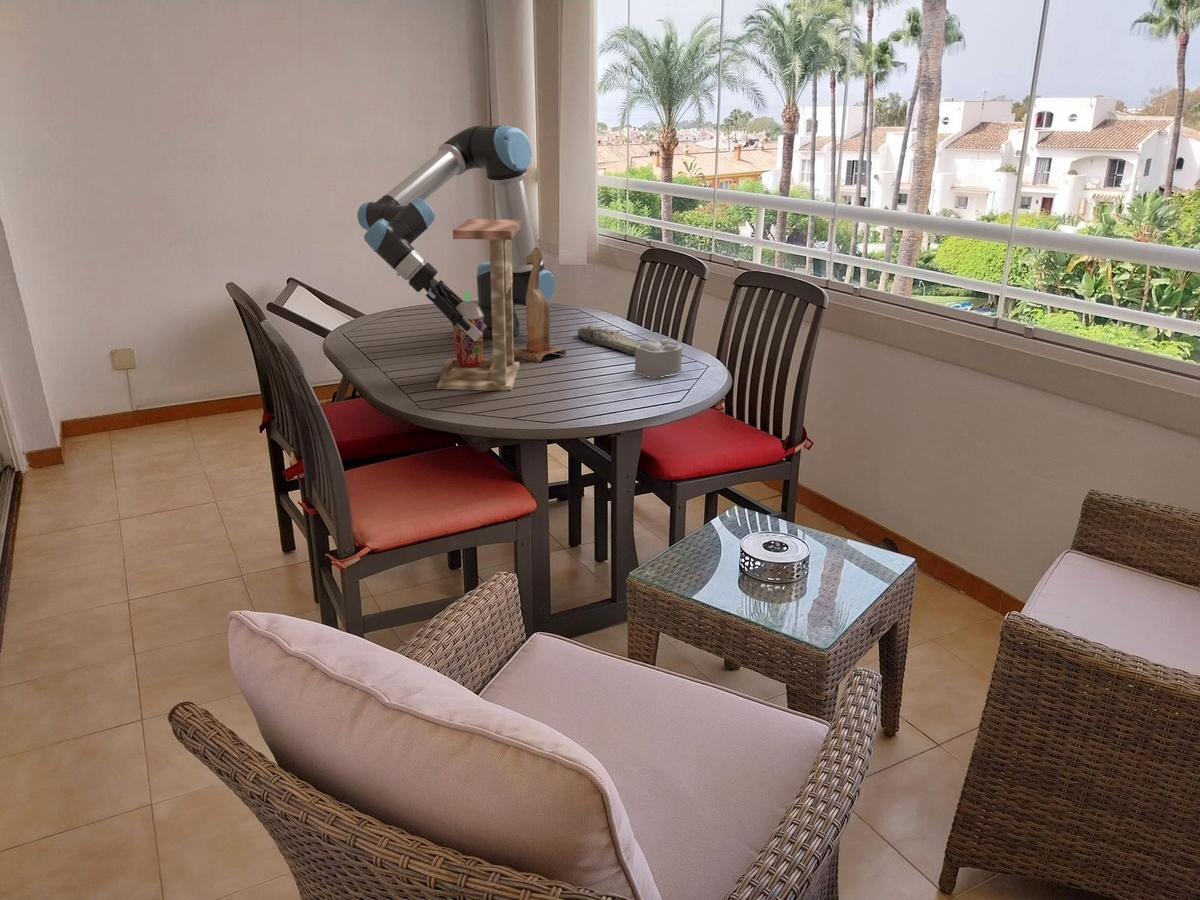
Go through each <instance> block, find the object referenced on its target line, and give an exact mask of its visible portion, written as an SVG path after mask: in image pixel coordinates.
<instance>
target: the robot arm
mask: <svg viewBox="0 0 1200 900" xmlns="http://www.w3.org/2000/svg"><path fill="white" fill-rule="evenodd" d="M532 156H533V149H532V145H531V141H530V139H529V137H528V135H527V134H526V133H525V132H524V131H523V130H522V129H521V128H518V127H517V126H516V127H515V126H510V125H473V126H470V127H467V128H465V129H463V130H461V131H459V132H458V133H457V134H455V135H453V136H452V137H450V138H448V139H447V140H446V141H445V142H444V143H442V144H440V146H439V147H438V149H437V153H436V154H434V155H433V156H432V157H430V158H429V159H428V160H427V161H426V162H425V163H423V164H422V165H421V166H419V167H418V168H417V169H416V170H414V171H413V172H412V173H411V174H409V175H408V176H407V177H406V178H404V179H403V180H402V181H401V182H399V183H398V184H397V185H396V186H394V187H393V188H392V189H391V190H389V191H388V192H387V193H386V194H384V195H383V196H382V197H381V198H379V199H378V200H376V201H375V202H374V201H369V202H364V203H362V204H361V205H360V206H359V208H358V209H357V213H356V215H357V216H356V217H357V220H358V224H359V225H360V227H361V228H363V229H364V230H366V232H365V233H364V236H363V239H364V241H365V243H366V244H367V245H368V246H369V247H370V248H371V249H372V250H373V252H374V253H376V254H377V255H378V256H379V257H380V258H381V259H382V260H383V261H385V262H386V263H387V265H388V266H390V267H391V268H392V269H393V270H394V271H395V272H396V276H397V277H401V278H402V279H403V280H405V281H408V285H409V286H410V287H412V289H413V290H414V291H415V292H417V293H419V292H421V291H422V290H423V289H424V290H425V291H426V294H425V296H426V298H428V300H430V301H431V303H433V304H434V305H435V307H437V308H438V310H439V311H441V312H442V314H443V315H444V316H445V317H446V318H447V319H448V320H449V321H450V322H451V324H452V326H453V325H454V326H455V325H456V324H457V325H458V326H460V327H461V328H462V329H463V330H464V331H465V332H466V333H467V334H468V335H469V336H470V337H471V338H472V339H473V340H474V341H476V340H477V339H478V338H479V337H480V336H481V335H482V333H481V332H480V331H479V330H478V329H477V328H476V327H475V326H474V325H473V324H472V323H471V322H470V321H469V320H468V319H467V318H466V317H465V316H464V317H463V316H462V315H461V314H460V312H459V311H458V310H457V309H456V306H457V305H458V304H460V303H461V302H464V301H465V300H463V299H462V298H461V297H460V296H459V295H458V294H457V293H455V292H454V291H453V290H452V289H451V288H450V287H449V286H447V284H445V282H444V281H443V280H439V281H438V280H436V278H435V277H436V275H437V274H438V270H437V269H436V268H435V267H433V265H431V263H430V262H426V258H425V257H424V256H423V255H422V253H419V252H418V250H417V249H416V248H415V247H413V245H412V244H413V242H415V240H416V239H417V238H419V237H420V236H421V235H422V234H424V233H425V231H427V230H428V229H429V227H430V226H431V225H432V224H433V222H434V221H435V217H436V216H435V211H434V210H433V207H432V206H431V205H430V204H429V203H428V202H427V201H426V199H428V198H429V197H430V196H431V195H433V194H434V193H435V192H437V191H438V190H439V189H440V188H441V187H442V186H444V185H445V184H446V183H447V182H448V181H450V180H451V179H452V178H454V177H455V176H461V175H463V174H464V173H466V172H467V171H469V170H473V169H485V173H486V178H487V180H488V182H491V183H492V184H493V186H494V191H495V196H496V200H497V207H498V210H499V215H500V220H521V228H520V229H519V231H518V232H517V233H516V235H515V236H514V237H513V239H512V280H513V283H512V298H513V337H516V336H518V335H520V334H521V324H520V321H519V319H518V316H517V311H516V309H515V305H518V306H522V307H526V300H527V289H528V283H529V278H530V274H531V271H532V268H533V265H531V264H529V265H526V258H527V256H528V255H529V254H532V252H533V250H534V247H536V243H535V242H536V241H535V238H534V237H535V236H534V232H533V225H532V221H531V215H530V209H529V204H528V199H527V195H526V188H525V183H524V177H525V176H526V174H527V173H528V170H527V168H528V167H529V165H530V164H531V162H532V161H531V158H532ZM476 269H477V270H476V271H477V272H476V284H477V285H476V287H477V303H478V304H477V305H478V306H479V307H480V309H481V311H482V313H483V314H484V317H483V318H484V320H483V338H490V339H492V307H491V274H490V261H485V262H481V263H479V264H478V266H477V268H476ZM555 289H556V279H555V276H554V275H553V273H552V272H551V271H549V270H547V269H546V268H545V264H544V260H543V259H542V261H541V266H540V272H539V290H540V291H541V292H542V293H543V295H544V296H545V298H546V299H547V301H548V303H549V302H550V301H551V299H552V297H553V295H554V292H555Z"/></svg>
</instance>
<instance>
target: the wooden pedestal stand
mask: <svg viewBox="0 0 1200 900" xmlns="http://www.w3.org/2000/svg"><path fill="white" fill-rule="evenodd" d="M520 228H521V220H501V218H500V219H498V218H497V219H493V218H491V219H490V218H489V219H487V218H468V219H466V220H465V221H463V222H462V223H461V224H460V225H457V227H455V228H454V229H452V238H453V240H489V241H488V242H489V262H490V274H491V307H492V338H491V339H492V358H482V361H481V364H480V366H479V367H475V368H463V367H460V366H459V363H458V362H457V359H456V358H448V359H447V361H446V362H445V363H444V365H443V366H442V368H441V369H440V372H439V378H440V379H439V381H438V383H437V384H436V390H437V389H458V390H457V391H507V390H511V391H512V390H513V387H514V384H515V381H516V378H517V374H518V371H519V369H520V361H515V357H514V350H515V347H514V336H513V298H512V283H513V280H512V239H513V237H514V236H515V235H516V233H517V232H518V231H519V229H520ZM459 389H460V390H459Z"/></svg>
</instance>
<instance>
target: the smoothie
mask: <svg viewBox="0 0 1200 900" xmlns="http://www.w3.org/2000/svg"><path fill="white" fill-rule="evenodd" d="M463 301H464V302H461V303H460V304H458V305H457V306H456V309H457V310H458V311H459V312H460V314H461V315H462V316H463V317H464V316H465V317H466V318H467V319H468V320H469V321H470V322H471V323H472V324H473V325H474V326H475V327H476V328H477V329H478V330H479V331H480V332H481V333H482V335H481V336H480V337H479V338H478V339H477V340H476V341H474V340H473V339H472V338H471V337H470V336H469V335H468V334H467V333H466V332H465V331H464V330H463V329H462V328H461V327H460V326H458V325H457V324H456V325H455V326H454V325H453V324H452V330H453V339H454V346H455V348H454V349H455V357H456V358H455V359H457V362H458V363H459V366H460V367H463V368H475V367H479V366H480V364H481V361H482V359H483V353H484V352H483V349H484V348H483V345H484V337H483V320H484V318H483V317H484V314H483V313H482V311H481V309H480V307H479V306H478V304H477V303H475V302H474V301H471V300H470V299H469V290H465V300H463Z"/></svg>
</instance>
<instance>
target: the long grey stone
mask: <svg viewBox="0 0 1200 900" xmlns="http://www.w3.org/2000/svg"><path fill="white" fill-rule="evenodd" d="M577 335H578V337H580V338H582V340H584V339H585V340H584V341H587V342H589V341H590V342H589V343H591V342H592V343H591V344H593V343H595V344H594V345H600V346H601V345H603V347H610V348H611V349H612V350H617V351H621V352H622V353H624V352H625V353H624V354H626V355H627V354H628V355H630V354H631V355H630V356H635V353H636V346H637V345H641V344H643V343H644V342H643V341H640V340H637V339H633V338H631V337H630V338H629V337H627V336H626V335H624V334H623V333H621V332H619V331H616V330H615V329H608V328H599V327H595V326H592V325H588V326H581V327H578V329H577Z"/></svg>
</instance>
